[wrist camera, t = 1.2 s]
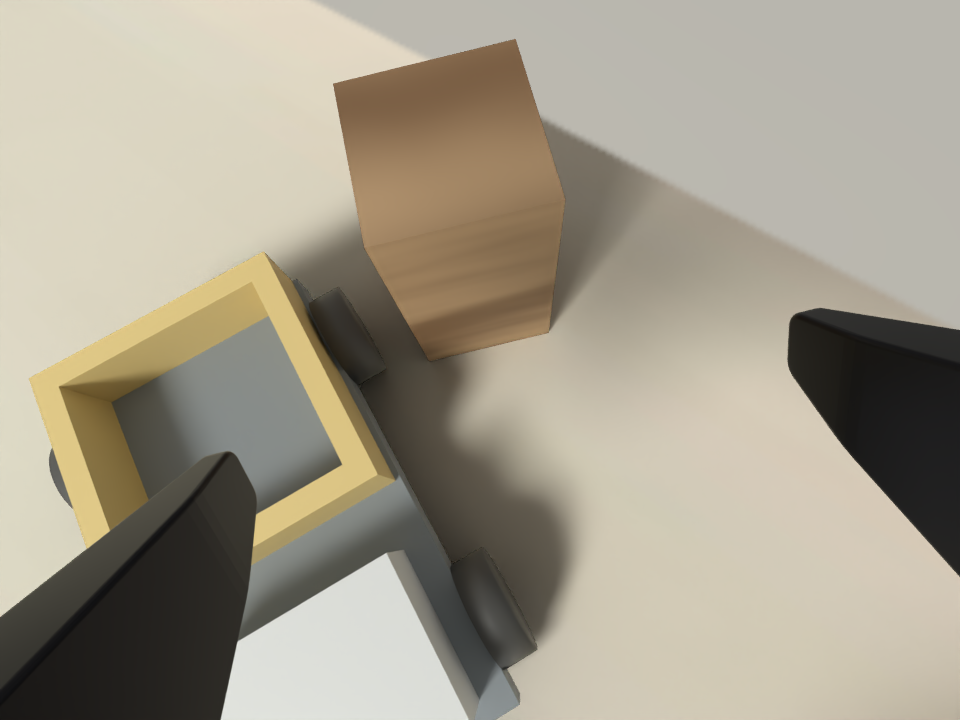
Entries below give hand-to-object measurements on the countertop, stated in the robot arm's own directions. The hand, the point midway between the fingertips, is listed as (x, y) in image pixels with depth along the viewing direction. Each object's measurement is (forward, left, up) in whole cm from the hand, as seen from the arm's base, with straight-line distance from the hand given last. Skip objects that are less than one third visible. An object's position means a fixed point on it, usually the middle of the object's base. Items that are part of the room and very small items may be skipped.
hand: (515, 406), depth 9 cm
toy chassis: (+5, +7, -13) cm, 16 cm away
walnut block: (+7, -4, -13) cm, 15 cm away
